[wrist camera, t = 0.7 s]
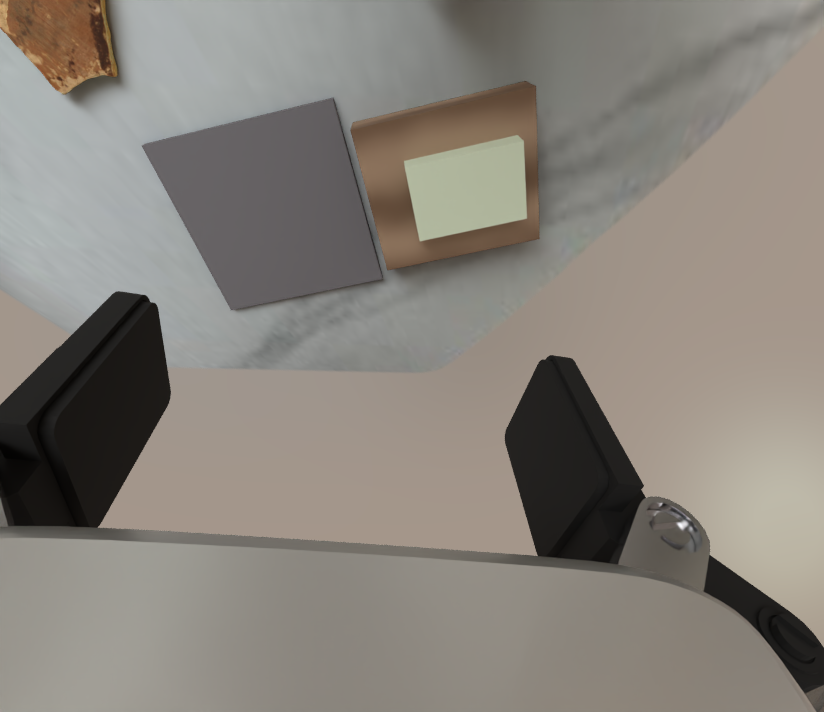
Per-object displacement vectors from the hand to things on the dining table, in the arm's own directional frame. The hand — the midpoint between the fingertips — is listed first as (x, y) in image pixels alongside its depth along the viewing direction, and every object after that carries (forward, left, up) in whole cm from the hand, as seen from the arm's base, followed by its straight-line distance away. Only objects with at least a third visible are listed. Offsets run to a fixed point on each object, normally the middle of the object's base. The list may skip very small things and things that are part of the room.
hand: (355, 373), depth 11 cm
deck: (+5, +5, -31) cm, 32 cm away
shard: (-13, -20, -32) cm, 40 cm away
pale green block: (+5, +6, -27) cm, 29 cm away
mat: (+5, -11, -31) cm, 34 cm away
